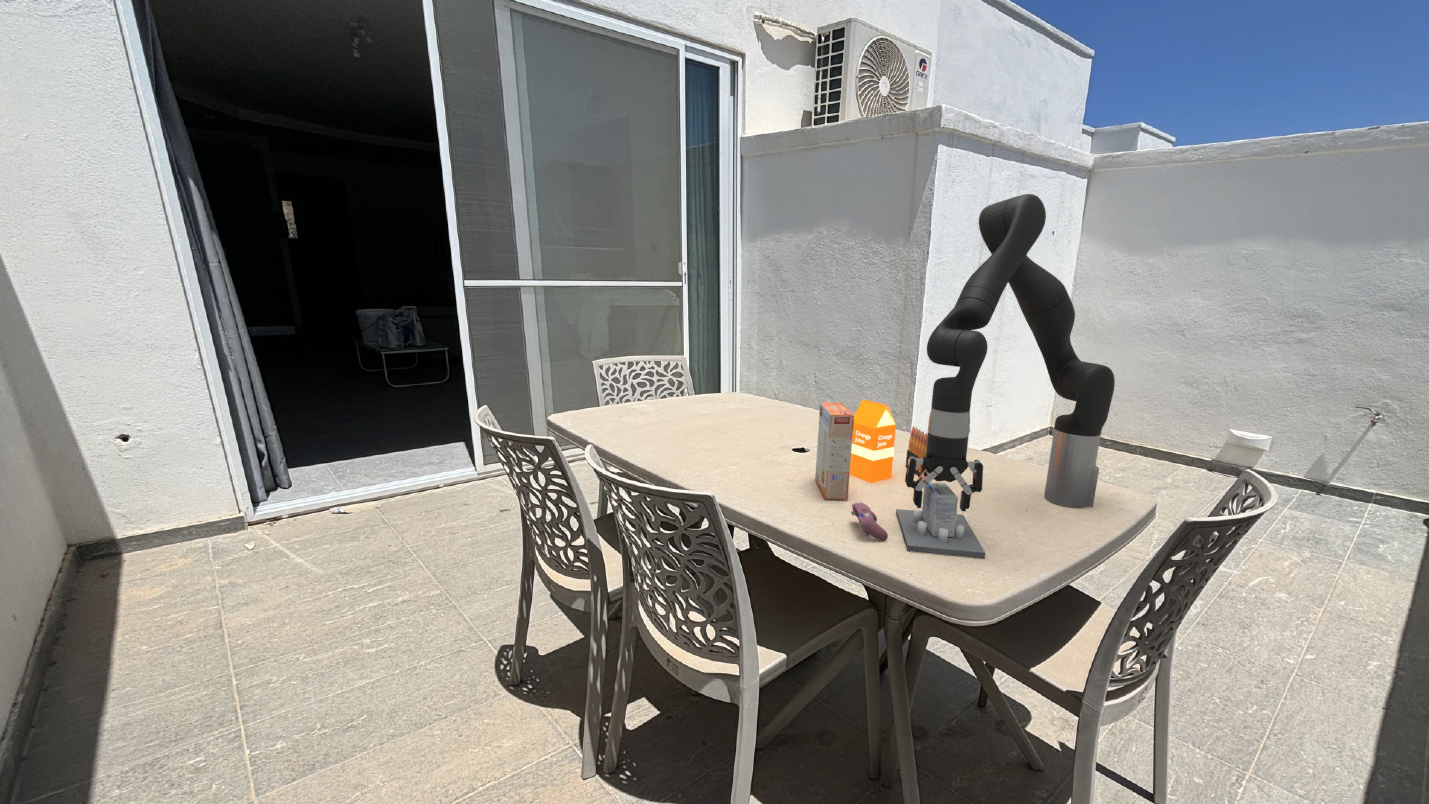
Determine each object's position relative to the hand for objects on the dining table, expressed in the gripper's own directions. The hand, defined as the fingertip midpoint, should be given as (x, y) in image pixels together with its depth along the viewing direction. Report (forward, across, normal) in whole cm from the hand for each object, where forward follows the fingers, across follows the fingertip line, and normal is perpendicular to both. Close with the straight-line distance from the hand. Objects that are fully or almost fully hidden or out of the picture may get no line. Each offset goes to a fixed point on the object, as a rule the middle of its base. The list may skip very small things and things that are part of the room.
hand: (940, 508), depth 116 cm
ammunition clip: (+6, -2, -39) cm, 40 cm away
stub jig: (+6, 0, 0) cm, 6 cm away
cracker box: (+6, +21, -21) cm, 30 cm away
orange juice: (+6, +11, -34) cm, 36 cm away
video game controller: (+6, +14, +1) cm, 15 cm away
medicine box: (+5, 0, 0) cm, 5 cm away
